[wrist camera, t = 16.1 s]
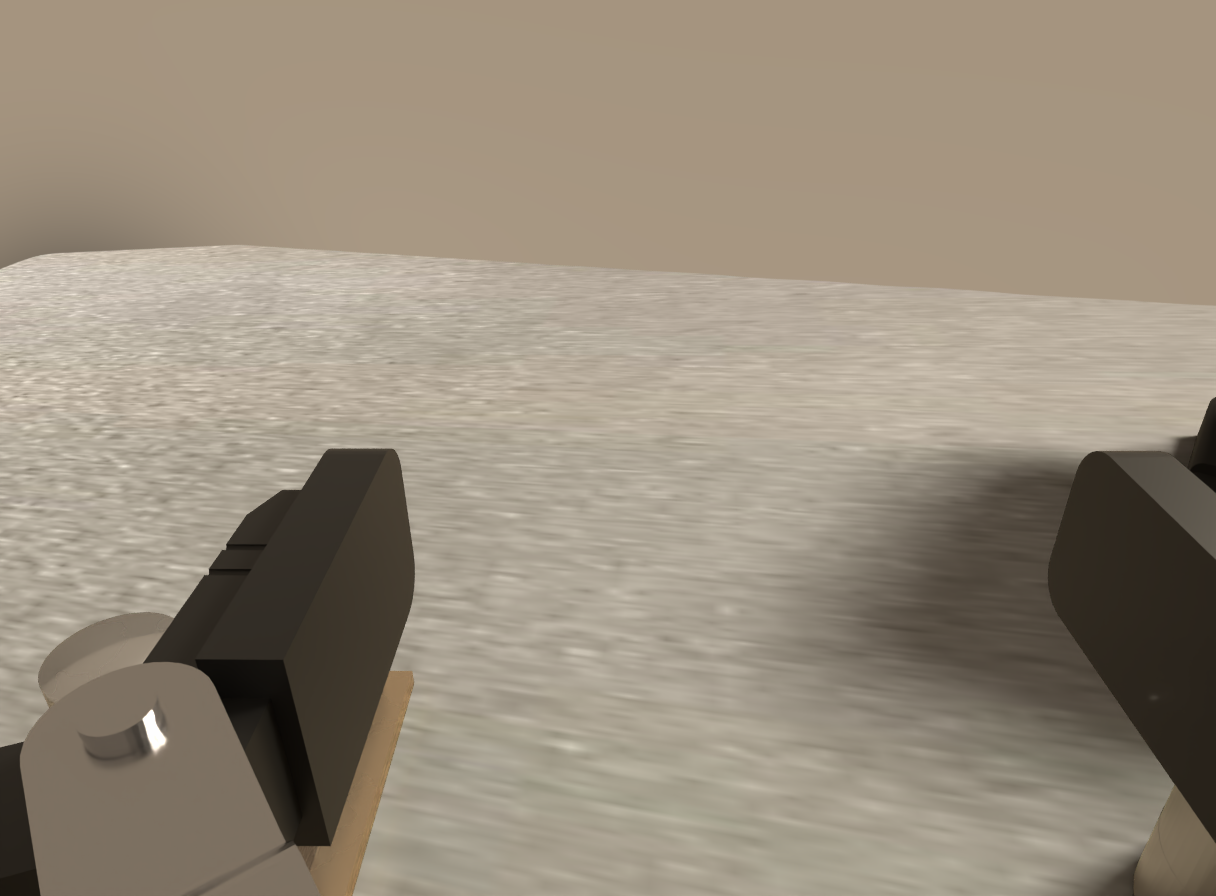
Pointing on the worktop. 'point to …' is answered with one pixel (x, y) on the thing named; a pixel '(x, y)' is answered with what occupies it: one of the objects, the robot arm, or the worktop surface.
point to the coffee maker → (1206, 449)
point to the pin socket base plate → (362, 795)
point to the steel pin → (100, 652)
